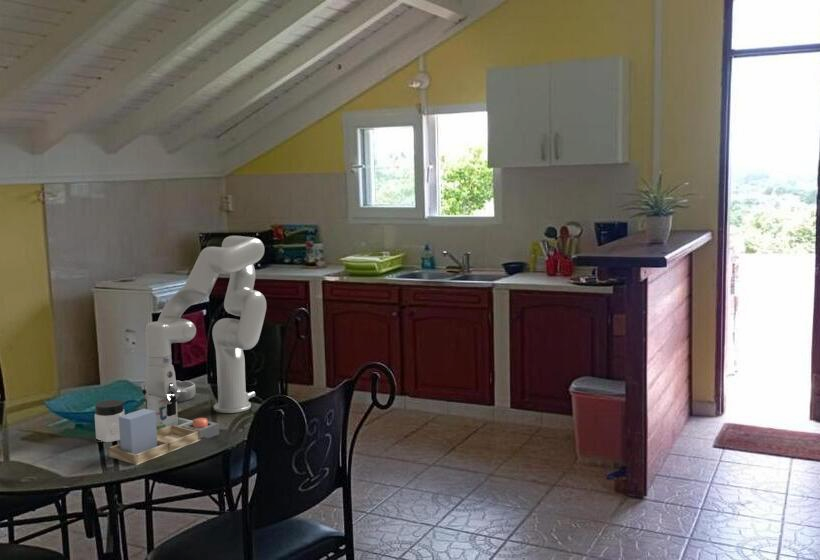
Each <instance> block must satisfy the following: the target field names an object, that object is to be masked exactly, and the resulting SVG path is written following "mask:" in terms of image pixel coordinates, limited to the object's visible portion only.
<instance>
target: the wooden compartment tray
mask: <svg viewBox="0 0 820 560" xmlns="http://www.w3.org/2000/svg"><path fill="white" fill-rule="evenodd" d="M199 441H201V438H200V432H199V431H195V430H191V429H187V428H183V427H179V426H175V425H171V426H168V427H165V428H162V429H160V430H157V447H154V448H152V449H149V450H146V451H144V452H141V453H138V454H133V453H129V452H126V451H122V450H121V444H120V443H118V444H115V445H112V446H110V447H107V457H109V458H112V459H117V460H120V461H122V462H123V461H124V462H127V463H129V464H133V465H137V466H139V465H141V464H143V463H145V462H148V461H150V460H153V459H157V458H158V457H161V456H164V455H166V454H169V453H172V452H174V451H176V450H179V449H181V448H184V447H186V446H188V445H192V444H194V443H197V442H199Z"/></svg>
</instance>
